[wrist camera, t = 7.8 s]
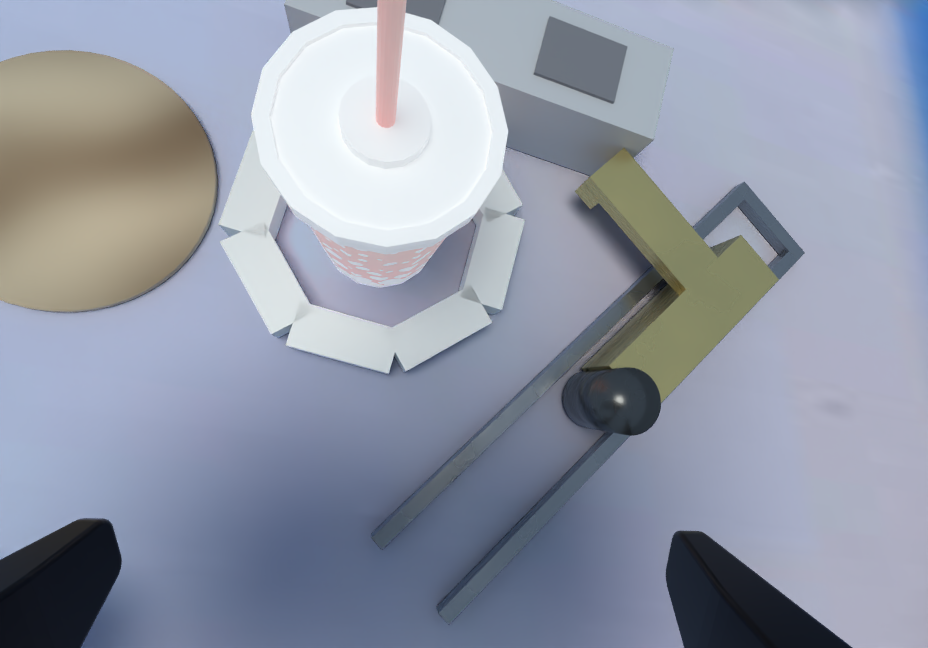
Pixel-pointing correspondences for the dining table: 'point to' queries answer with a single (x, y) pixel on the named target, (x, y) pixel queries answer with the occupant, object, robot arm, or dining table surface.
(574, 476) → the rail
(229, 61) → the dining table surface
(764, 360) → the dining table surface
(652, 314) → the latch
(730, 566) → the robot arm
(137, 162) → the coaster
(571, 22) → the socket
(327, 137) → the beverage cup
